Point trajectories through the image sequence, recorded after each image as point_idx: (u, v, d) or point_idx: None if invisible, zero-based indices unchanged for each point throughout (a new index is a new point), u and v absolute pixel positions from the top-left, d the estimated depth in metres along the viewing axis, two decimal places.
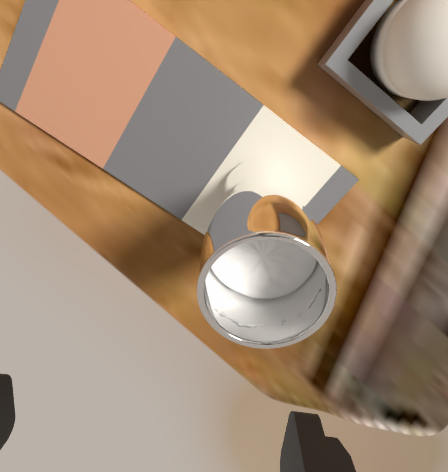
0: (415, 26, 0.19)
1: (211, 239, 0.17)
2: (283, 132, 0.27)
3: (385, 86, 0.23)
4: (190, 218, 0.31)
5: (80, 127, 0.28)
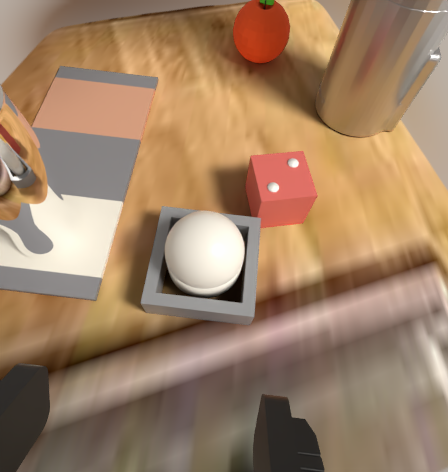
0: (198, 211, 0.27)
1: None
2: (109, 223, 0.33)
3: None
4: None
5: (58, 108, 0.39)
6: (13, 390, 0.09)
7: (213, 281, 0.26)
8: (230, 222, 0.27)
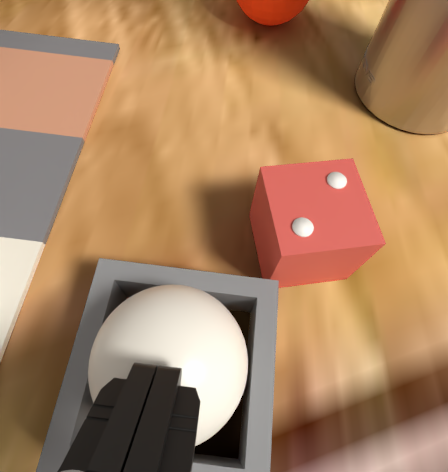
0: (157, 291, 0.14)
1: None
2: (14, 281, 0.19)
3: None
4: None
5: None
6: (141, 387, 0.09)
7: None
8: (219, 314, 0.13)
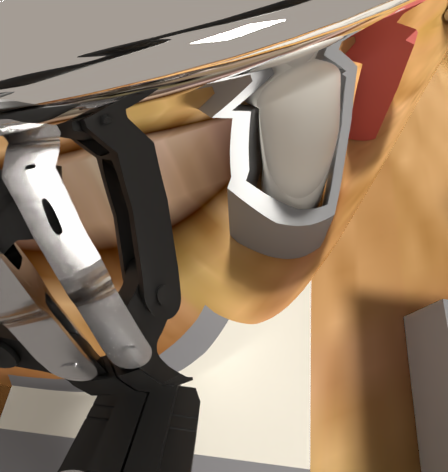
0: None
1: None
2: (295, 322, 0.16)
3: None
4: None
5: None
6: None
7: None
8: None
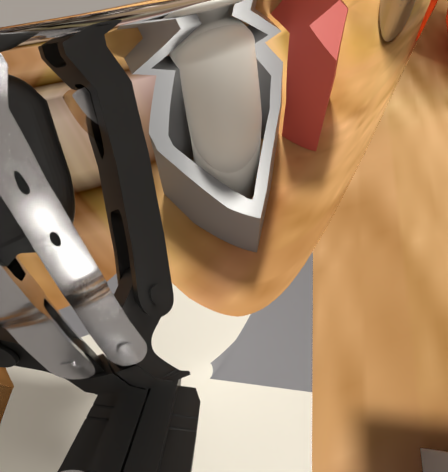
0: None
1: None
2: (293, 462, 0.13)
3: None
4: None
5: None
6: None
7: None
8: None
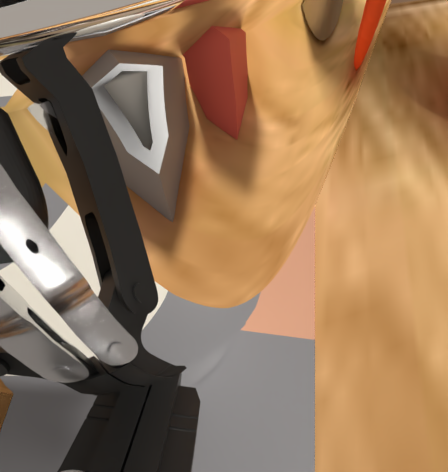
0: None
1: None
2: None
3: None
4: None
5: None
6: None
7: None
8: None
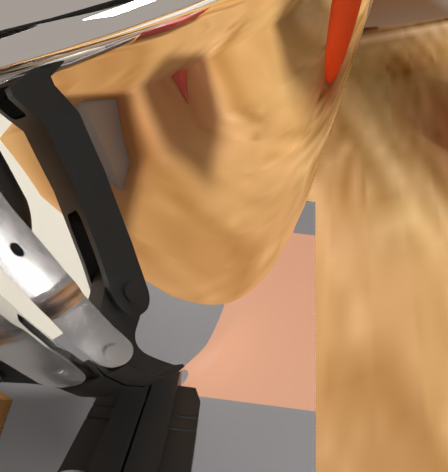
0: None
1: None
2: None
3: None
4: None
5: None
6: None
7: None
8: None
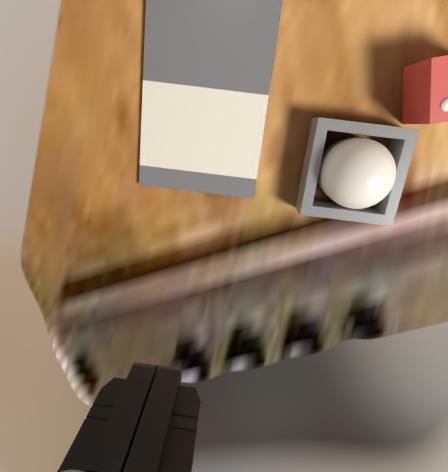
0: (362, 148, 0.29)
1: None
2: (257, 122, 0.34)
3: (320, 165, 0.33)
4: (149, 87, 0.33)
5: None
6: (141, 387, 0.09)
7: (364, 207, 0.32)
8: (390, 159, 0.30)
